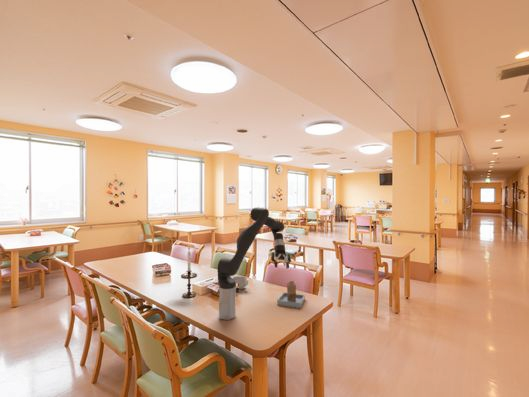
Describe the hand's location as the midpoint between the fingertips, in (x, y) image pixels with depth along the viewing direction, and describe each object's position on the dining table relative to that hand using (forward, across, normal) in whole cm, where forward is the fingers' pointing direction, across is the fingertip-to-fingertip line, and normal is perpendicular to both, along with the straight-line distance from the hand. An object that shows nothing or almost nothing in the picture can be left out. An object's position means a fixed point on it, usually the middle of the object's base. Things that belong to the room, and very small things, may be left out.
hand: (282, 267), depth 184 cm
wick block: (+22, +4, +1) cm, 22 cm away
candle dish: (+22, +5, +2) cm, 23 cm away
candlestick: (+11, -57, +35) cm, 68 cm away
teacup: (+4, -20, +33) cm, 39 cm away
